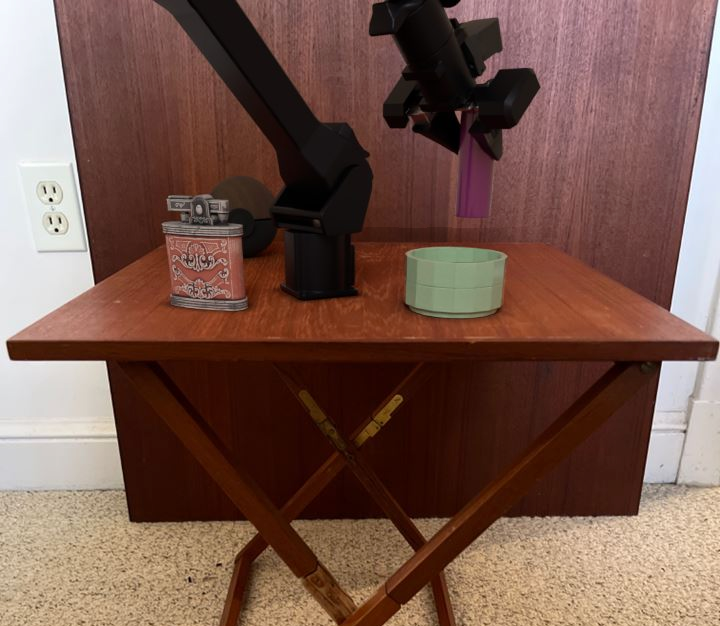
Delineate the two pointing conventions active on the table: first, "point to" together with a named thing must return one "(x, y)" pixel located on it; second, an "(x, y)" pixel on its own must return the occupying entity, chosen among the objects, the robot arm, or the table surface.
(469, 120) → the purple cylinder rod
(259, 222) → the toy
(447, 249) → the bowl
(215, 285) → the lighter
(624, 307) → the table surface
